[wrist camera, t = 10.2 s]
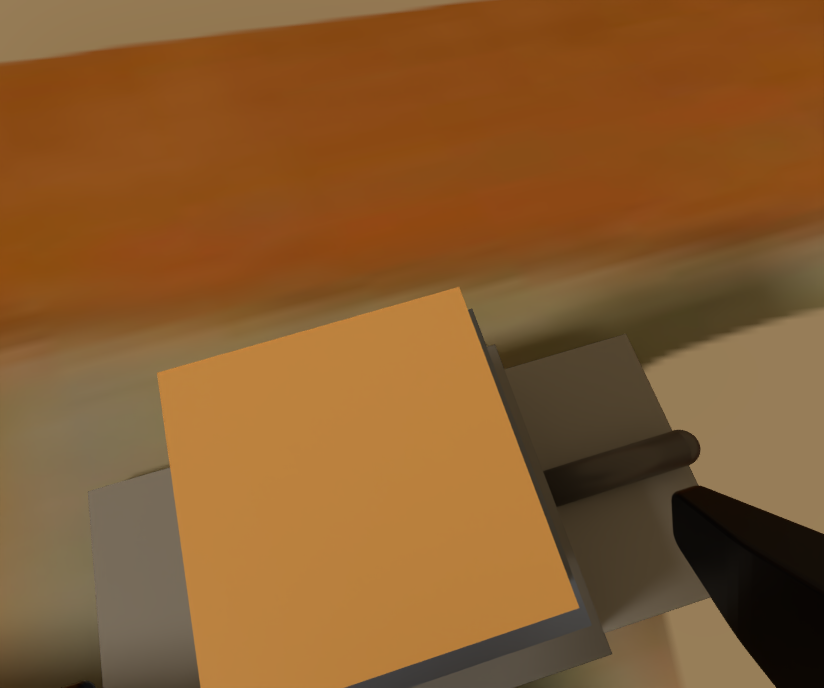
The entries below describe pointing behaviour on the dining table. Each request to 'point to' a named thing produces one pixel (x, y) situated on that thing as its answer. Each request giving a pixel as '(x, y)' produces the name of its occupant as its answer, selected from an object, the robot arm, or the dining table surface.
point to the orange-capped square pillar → (360, 506)
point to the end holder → (560, 485)
